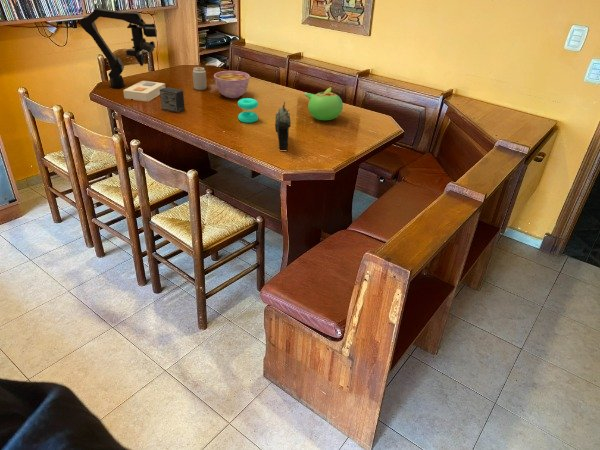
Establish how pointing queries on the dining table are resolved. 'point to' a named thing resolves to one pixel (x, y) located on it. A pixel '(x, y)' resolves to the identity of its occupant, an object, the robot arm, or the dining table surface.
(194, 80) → the can
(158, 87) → the console
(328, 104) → the green rounded body
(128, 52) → the robot arm
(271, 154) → the dining table surface
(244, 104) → the donuts
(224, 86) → the bowl of food
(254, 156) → the dining table surface
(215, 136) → the dining table surface
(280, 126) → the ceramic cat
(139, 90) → the orange button
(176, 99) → the small box
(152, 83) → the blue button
